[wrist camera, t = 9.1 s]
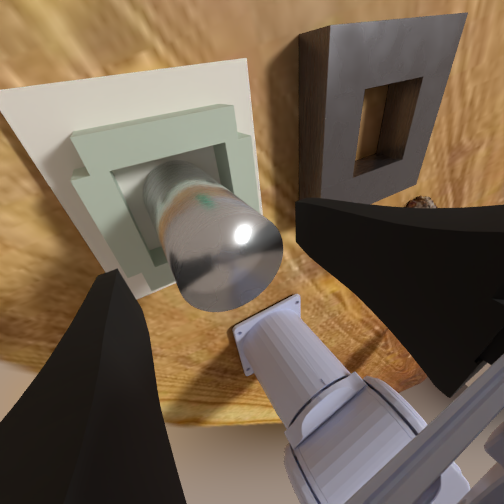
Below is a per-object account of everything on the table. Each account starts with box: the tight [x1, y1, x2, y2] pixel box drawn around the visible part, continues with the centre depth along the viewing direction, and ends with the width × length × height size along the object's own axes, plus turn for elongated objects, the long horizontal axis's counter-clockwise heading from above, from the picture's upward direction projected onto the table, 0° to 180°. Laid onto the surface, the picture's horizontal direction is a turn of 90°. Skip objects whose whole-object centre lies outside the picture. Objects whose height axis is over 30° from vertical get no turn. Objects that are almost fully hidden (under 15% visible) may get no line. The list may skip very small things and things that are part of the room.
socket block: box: [299, 13, 468, 204], centre depth 18 cm, size 12×12×2 cm
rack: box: [0, 58, 263, 300], centre depth 14 cm, size 12×11×2 cm
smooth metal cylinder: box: [143, 160, 283, 312], centre depth 11 cm, size 4×4×8 cm
